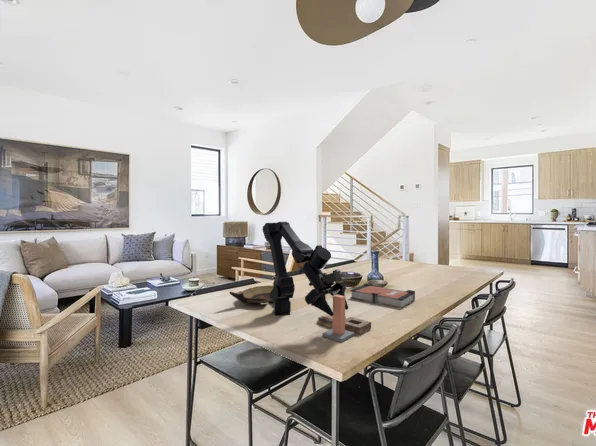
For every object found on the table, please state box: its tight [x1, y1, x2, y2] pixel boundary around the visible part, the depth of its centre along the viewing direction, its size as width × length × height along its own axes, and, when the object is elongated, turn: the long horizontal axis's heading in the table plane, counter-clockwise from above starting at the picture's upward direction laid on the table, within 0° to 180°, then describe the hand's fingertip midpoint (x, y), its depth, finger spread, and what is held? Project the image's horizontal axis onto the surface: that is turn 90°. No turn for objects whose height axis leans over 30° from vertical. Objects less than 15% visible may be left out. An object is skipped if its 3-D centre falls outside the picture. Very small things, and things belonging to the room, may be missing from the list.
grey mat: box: [322, 328, 355, 343], centre depth 115 cm, size 8×8×1 cm
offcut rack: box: [316, 313, 372, 335], centre depth 126 cm, size 19×10×3 cm, turn 49°
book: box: [350, 282, 416, 309], centre depth 163 cm, size 26×18×5 cm
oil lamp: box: [229, 285, 274, 304], centre depth 158 cm, size 22×30×8 cm
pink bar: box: [331, 295, 346, 335], centre depth 115 cm, size 4×2×13 cm
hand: (340, 312), depth 115 cm, fingers open, 9 cm apart
